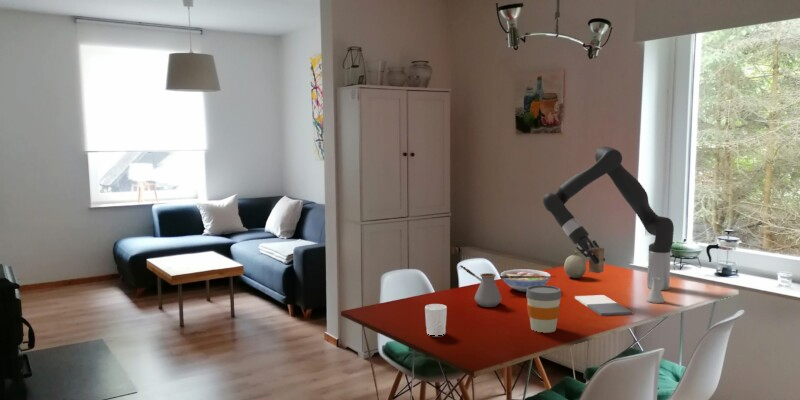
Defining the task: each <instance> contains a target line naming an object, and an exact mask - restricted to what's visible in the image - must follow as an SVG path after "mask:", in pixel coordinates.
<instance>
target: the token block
mask: <svg viewBox="0 0 800 400" xmlns="http://www.w3.org/2000/svg"><path fill="white" fill-rule="evenodd" d="M592 252H593V253H594V255H595V256H596V257H597V258H598V259H599V261H600V262H599V263H598V264H595V263H594V262H593V261H592V259H591V258H589V257H588V259H589V260H588V272H589V273H596V274H601V273H604V266H605V265H604V262H605V261H604V258H605V248H604V247H600V248H597V247H596V248H595V247H593V248H592Z"/></svg>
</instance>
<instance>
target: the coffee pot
mask: <svg viewBox="0 0 800 400" xmlns="http://www.w3.org/2000/svg"><path fill="white" fill-rule="evenodd" d="M459 268H460V269H463V270H465V272H466V273H468V274H469V275H471V276H472V277H475V278H476V279H477V280H479V281H480V284H479V285H478V289H477V290H476V292H475V295H474V301H475V302H476V303H477V304H478V306H480V307H485V308H493V307H494V308H495V307H497V306H498V305H499V304H500V303H501V302H502V300H503V298H502V295H501V293H500V290H499V288H498V286H497V283H496V281H495V277H496V276H497V275H496V273H495V274H494V273H491V272H490V273H486V272H485V273H481V274H480V277H481V278H480V277H479V276H478V275H476V274H475V273H473V272H472V271H471V270H470V269H468V268H466V267H465V266H464V265H459Z"/></svg>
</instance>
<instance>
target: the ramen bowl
mask: <svg viewBox="0 0 800 400" xmlns="http://www.w3.org/2000/svg"><path fill="white" fill-rule="evenodd" d="M499 278H500V279H502V280H503V282H504V283H505V284H506V285H507V286H508V287H510V288H512V289H514V290H517V291H518V292H523V293H527V288H528V287H530V286H535V285H547V283H548V282H549V281H550V279H551V278H556V276H551V274H550V273H549V272H546V271H543V270H536V269H529V268H528V269H524V268H522V269H509V270H504V271H503V272H501V273H500V275H499Z"/></svg>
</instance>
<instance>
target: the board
mask: <svg viewBox="0 0 800 400" xmlns="http://www.w3.org/2000/svg"><path fill="white" fill-rule="evenodd" d="M574 299H575V300H577V302H579V303H581V304H582V305H584V306H586V307H587V308H588V309H590V310H591V311H593V312H594V313H596V314H597V315H598V316H605V317H607V316H624V315H633V311H632V310H630V309H628V308H627V307H625V306H624V305H622V304H620V303H618V302H616V301H614V299H611V298H610V297H608V296H606V295H604V294H597V295H596V294H594V295H574Z"/></svg>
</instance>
